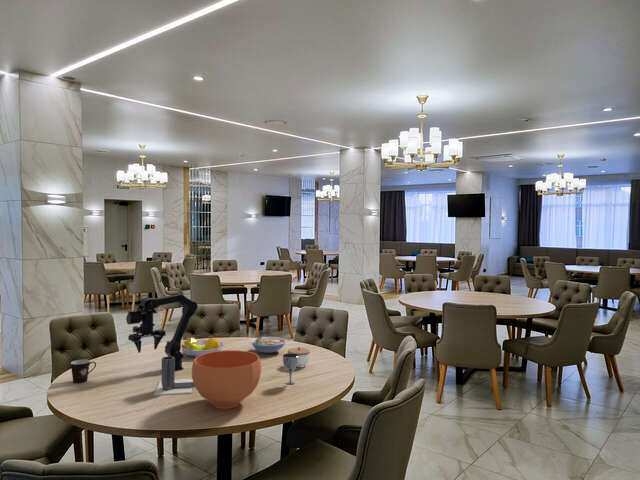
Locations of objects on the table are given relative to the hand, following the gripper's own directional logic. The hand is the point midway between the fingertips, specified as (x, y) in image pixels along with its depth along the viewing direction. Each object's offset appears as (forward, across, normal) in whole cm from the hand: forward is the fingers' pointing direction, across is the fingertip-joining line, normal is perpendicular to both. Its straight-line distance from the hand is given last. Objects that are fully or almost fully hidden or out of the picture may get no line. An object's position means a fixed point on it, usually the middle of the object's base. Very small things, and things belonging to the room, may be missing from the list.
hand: (147, 351), depth 243 cm
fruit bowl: (+13, -44, -12) cm, 47 cm away
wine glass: (+13, -39, +68) cm, 80 cm away
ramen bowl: (+13, -76, +15) cm, 79 cm away
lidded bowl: (+13, -66, +50) cm, 84 cm away
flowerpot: (+13, -1, +64) cm, 65 cm away
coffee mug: (+13, +26, -16) cm, 33 cm away
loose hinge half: (+10, +7, +30) cm, 32 cm away
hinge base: (+13, +1, +28) cm, 31 cm away
